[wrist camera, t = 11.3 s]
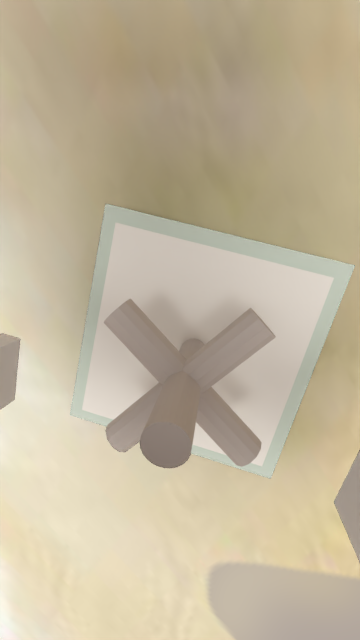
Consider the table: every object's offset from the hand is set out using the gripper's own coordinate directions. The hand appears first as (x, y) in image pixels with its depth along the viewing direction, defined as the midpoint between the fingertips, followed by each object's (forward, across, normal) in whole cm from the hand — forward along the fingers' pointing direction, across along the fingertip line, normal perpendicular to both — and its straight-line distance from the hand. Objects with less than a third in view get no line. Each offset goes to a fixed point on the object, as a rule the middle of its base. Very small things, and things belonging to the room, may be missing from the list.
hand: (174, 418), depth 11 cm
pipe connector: (+9, 0, -1) cm, 9 cm away
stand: (+12, 0, -1) cm, 12 cm away
